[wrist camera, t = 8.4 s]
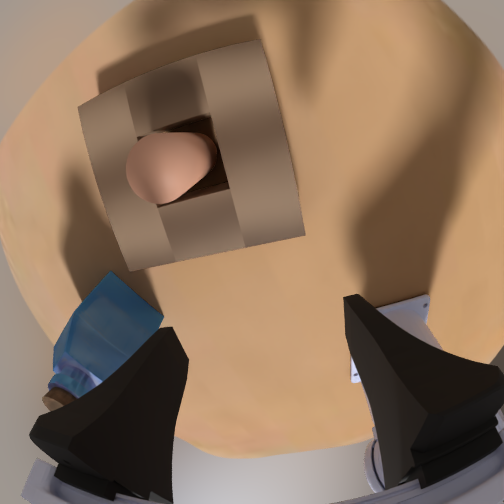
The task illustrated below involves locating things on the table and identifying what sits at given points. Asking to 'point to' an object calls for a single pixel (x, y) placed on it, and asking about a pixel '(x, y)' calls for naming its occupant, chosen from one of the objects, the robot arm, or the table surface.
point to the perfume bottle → (99, 340)
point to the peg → (169, 164)
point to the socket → (231, 147)
